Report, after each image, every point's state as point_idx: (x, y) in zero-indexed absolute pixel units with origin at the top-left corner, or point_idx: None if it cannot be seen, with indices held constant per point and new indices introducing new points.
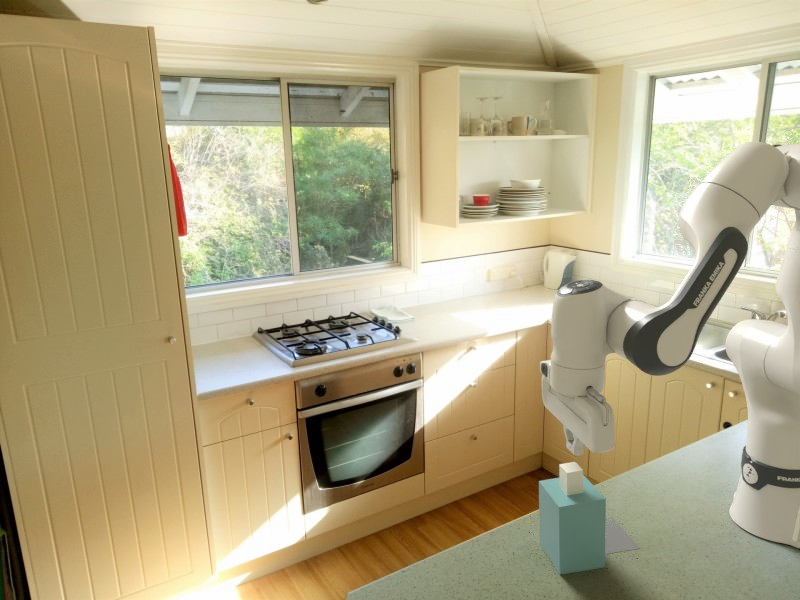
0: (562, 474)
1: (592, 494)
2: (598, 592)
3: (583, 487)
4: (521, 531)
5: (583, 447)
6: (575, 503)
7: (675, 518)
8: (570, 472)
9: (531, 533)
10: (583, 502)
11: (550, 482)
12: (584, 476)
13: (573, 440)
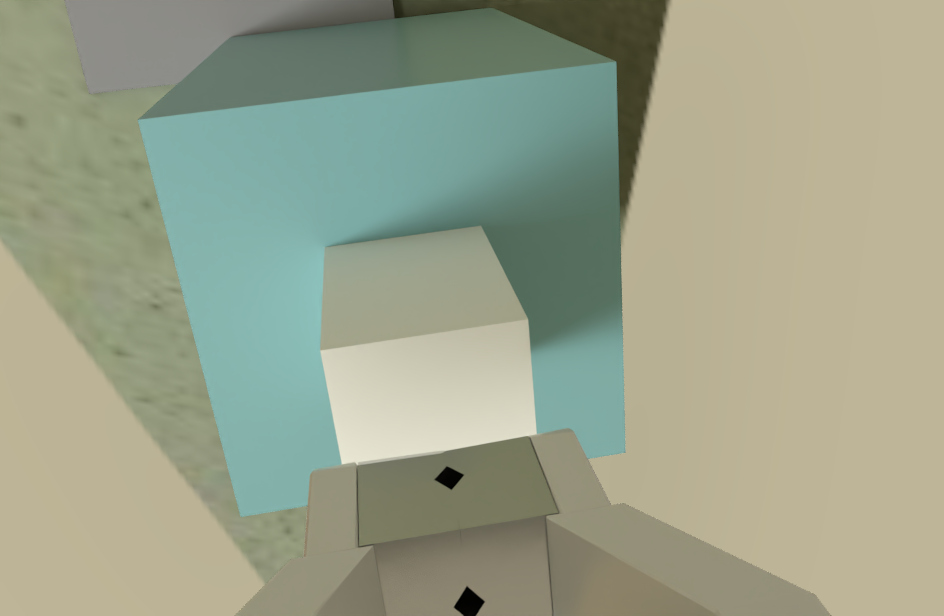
0: None
1: (525, 155)
2: (641, 108)
3: (397, 194)
4: (150, 343)
5: (599, 484)
6: (611, 330)
7: None
8: None
9: (168, 298)
10: (615, 267)
11: (274, 437)
12: (197, 116)
13: (398, 613)
